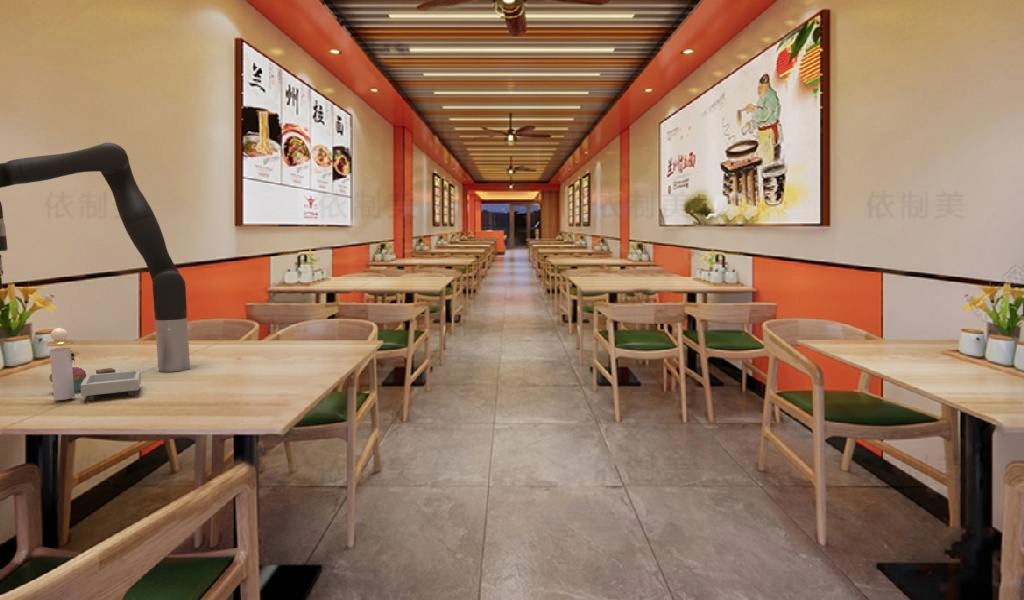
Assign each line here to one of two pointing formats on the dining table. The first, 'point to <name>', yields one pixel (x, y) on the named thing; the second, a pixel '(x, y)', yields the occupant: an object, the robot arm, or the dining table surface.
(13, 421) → the dining table surface
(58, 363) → the perfume bottle
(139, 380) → the cart
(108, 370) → the walnut block
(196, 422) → the dining table surface
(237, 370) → the dining table surface
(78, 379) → the cupcake
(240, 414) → the dining table surface
